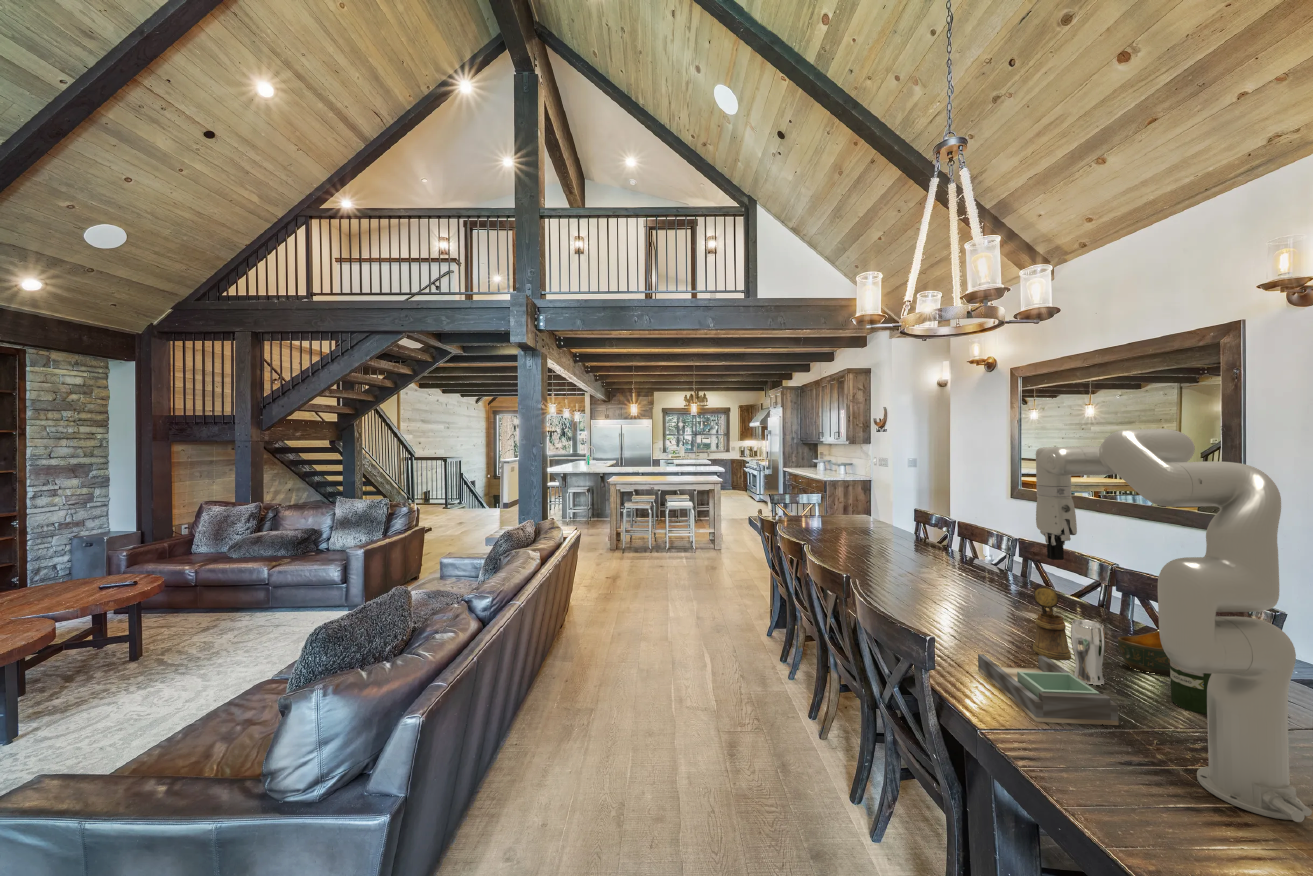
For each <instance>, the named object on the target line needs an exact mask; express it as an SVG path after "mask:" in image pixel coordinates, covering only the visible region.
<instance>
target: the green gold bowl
mask: <svg viewBox="0 0 1313 876" xmlns="http://www.w3.org/2000/svg"><path fill="white" fill-rule="evenodd" d="M1117 646H1118V651H1119V653H1120V656H1121V658H1122V659H1123V661H1124V662H1125V663H1126V664H1128V667H1129V668H1130V667H1131V668H1133V669H1136V670H1140V671H1143V672H1149V673H1155V674H1160V675H1159V676H1164V675H1170V659H1169V658H1168V656H1167V655H1166V653H1165V652H1164V650H1163V647H1162V644H1161V640H1160V634H1159V630H1158V631H1152V632H1147V633H1144V634H1139V635H1138V634H1137V635H1124V636H1118V637H1117ZM1131 668H1130V669H1131ZM1133 669H1132V670H1133Z"/></svg>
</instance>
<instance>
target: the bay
mask: <svg viewBox="0 0 1313 876" xmlns="http://www.w3.org/2000/svg"><path fill="white" fill-rule="evenodd" d="M1037 660H1038V662H1037V665H1038V668H1034V667H1033V668H1030V667H1028V668H1027V667H1001V666H999V665H998V664H996V663H995V662H994V661H993V660H991V659H990V658H989V657H988V656H986V654H984V653H978V654H977V667H978V669H977V670H978V672H980V673H981V674H982V675H983V676H984V677H985V678H986V677H987V678H986V679H988V680H989V681H990V682H991V683H992V684H993V685H994V684H995V685H994V686H995V687H996V688H998V690H1000V691H1001V692H1002V691H1003V692H1002V693H1003V694H1004V693H1005V694H1004V695H1006V697H1008V698H1009V697H1010V698H1011V699H1012V700H1011V699H1010V698H1009V699H1010V700H1011V701H1012V702H1013V701H1014V702H1013V703H1015V704H1016V705H1017V706H1018V707H1019V708H1020V709H1021V710H1022V711H1024V712H1025V713H1026V715H1028V716H1029V717H1031V719H1033V720H1034V721H1035V722H1036V723H1056V724H1057V723H1059V724H1076V725H1077V724H1082V725H1102V724H1103V726H1104V725H1105V726H1107V725H1108V726H1119V704H1117V703H1116V702H1114V701H1113V700H1111V697H1109V696H1108V695H1107V694H1102V693H1101V692H1099V691H1098V690H1096V689H1094V688H1093V687H1092V686H1090V685H1089V684H1087V685H1088V686H1090V687H1091V688H1093V689H1094V690H1096V691H1097V692H1099V693H1100V695H1098V694H1069V693H1041V692H1039V699H1038V698H1037V697H1036V696H1035V695H1033V694H1032V693H1031V692H1030V691H1028V690H1027V689H1026V688H1025V687H1023V686H1022V685H1021V684H1020V683H1019V682H1018V681H1017V671H1019V672H1052V673H1070V674H1072V673H1071V672H1069V671H1068V670H1066V669H1064V667H1061V666H1060V665H1058V664H1057V663H1055V662H1054V661H1053V660H1051V658H1047V657H1045V656H1041V655H1037ZM1072 675H1073V676H1074V674H1072ZM1076 678H1077V677H1076ZM1079 680H1080V679H1079ZM1082 682H1083V681H1082ZM1085 684H1086V683H1085Z"/></svg>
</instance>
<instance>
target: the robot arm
mask: <svg viewBox="0 0 1313 876" xmlns="http://www.w3.org/2000/svg"><path fill="white" fill-rule="evenodd" d="M1195 451H1196V450H1195V443H1194V442H1193V440H1192V439H1191V438H1190V437H1189V436H1188V435H1187V434H1185V433H1183V432H1181V431H1178V430H1175V429H1169V428H1168V429H1167V428H1142V429H1141V428H1140V429H1120V430H1116V431H1114V432H1112V433H1111V434H1110V433H1109V435H1108V436H1106V437H1105V439H1104V440H1103V442H1102V443H1100V445H1098V446H1097V445H1095V446H1094V445H1092V446H1091V445H1090V446H1089V445H1088V446H1087V445H1086V446H1046V447H1045V446H1043V447H1039V448H1037V449H1036V451H1035V473H1036V474H1035V479H1036V480H1035V481H1036V497H1037V499H1036V507H1035V510H1036V511H1035V523H1036V527H1037V529H1038V530H1039V534H1041V535H1042V536H1043V537H1044V539H1045V543H1046V556H1047V557H1046V558H1047V559H1049V560H1053V561H1055V560H1056V561H1057V560H1058V561H1059V560H1060V561H1063V560H1064V555H1065V554H1064V552H1065V551H1064V546H1065V544H1066V542H1068V541H1069V542H1070V541H1071V536H1076V535H1077V533H1078V529H1077V528H1078V527H1077V526H1078V525H1077V514H1076V508H1075V503H1074V499H1073V498H1072V477H1074V476H1075V477H1076V476H1107V475H1108V476H1110V475H1117V476H1118V477H1120V479H1122V481H1124V482H1125V483H1126V484H1128V485H1129V486H1130V487H1131V488H1132V489H1133V490H1134V491H1135V492H1136V493H1137V494H1138V495H1140V496H1141V497H1142V498H1144V499H1145V500H1146V501H1148V502H1150V503H1152V504H1154V505H1157V506H1160V507H1167V508H1168V507H1171V508H1179V507H1180V508H1181V507H1186V508H1187V507H1188V508H1190V507H1192V508H1193V507H1194V508H1195V507H1196V508H1197V507H1217V508H1219V510H1218V512H1217V513H1216V514H1215V515H1214V516H1213V518H1212V519H1211V520H1210V522H1209V523H1208V526H1207V528H1206V532H1205V543H1206V544H1205V545H1206V547H1205V555H1204V556H1202V557H1201V556H1200V557H1196V556H1194V557H1180V558H1174V559H1172V560H1170V561H1168V562H1166V564H1165V565H1163V567H1162V568H1161V570H1160V572H1159V575H1158V577H1157V606H1158V607H1157V609H1158V610H1157V611H1158V612H1157V613H1158V631H1159V634H1160V640H1161V644H1162V647H1163V650H1164V652H1165V653H1166V655H1167V656H1168V658H1169V659H1170V660H1171V661H1172V662H1173V663H1174V664H1175V665H1177V666H1178V667H1180V668H1182V669H1184V670H1187V671H1191V672H1196V673H1212V674H1211V676H1210V678H1209V681H1208V685H1207V714H1206V715H1207V716H1206V717H1207V718H1206V719H1207V750H1208V751H1207V752H1208V753H1207V755H1208V766H1203V767H1200V768H1198V770H1196V771H1197V772H1196V779H1197V781H1198V783H1199V784H1200V785H1201V787H1202V788H1204V789H1205V790H1206V791H1207V792H1209V793H1211V795H1214V796H1215V797H1216V798H1218V799H1221V800H1222V801H1224V802H1225V803H1228V804H1231V805H1233V806H1234V807H1236V808H1240V809H1242V810H1244V811H1247V812H1249V813H1250V812H1251V813H1254V814H1255V815H1260V816H1263V817H1268V818H1271V819H1280V820H1288V821H1294V822H1296V823H1302V822H1303V821H1304V820H1305V817H1310V816H1311V815H1312V814H1313V811H1312V809H1311V808H1310V807H1308V806H1307V805H1305V804H1304V803H1303V802H1302V801H1301V800H1300V798H1298V797H1297V789H1296V788H1295V787H1293V786H1292V785H1290V756H1289V755H1290V754H1289V752H1290V751H1289V747H1290V746H1289V690H1290V683H1291V680H1292V676H1293V673H1294V670H1295V665H1296V658H1297V657H1296V656H1297V654H1296V649H1295V646H1294V643H1293V642H1292V640H1291V638H1290V637H1289V636H1288V634H1286V632H1284V631H1283V630H1282V629H1281V628H1280V627H1278V626H1277V625H1274V624H1272V623H1270V622H1268V621H1266V620H1262V619H1260V618H1253V617H1247V616H1217V613H1253V612H1254V613H1255V612H1256V613H1257V612H1263V611H1264V612H1265V611H1268V610H1271V609H1273V608H1274V607H1275V606H1276V605H1277V604H1278V602H1279V598H1280V568H1279V566H1280V564H1279V562H1280V561H1279V546H1278V545H1279V544H1278V532H1279V525H1280V519H1281V514H1282V496H1281V493H1280V490H1279V488H1278V486H1277V484H1276V483H1275V481H1273V479H1272V477H1270V476H1269V475H1268V474H1267V473H1266V472H1264V471H1263V470H1260V469H1259V468H1257V467H1256V466H1255V467H1254V466H1251V465H1249V464H1245V463H1242V462H1241V463H1240V462H1232V461H1190V460H1191V459H1192V457H1194V454H1195Z"/></svg>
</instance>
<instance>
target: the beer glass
mask: <svg viewBox="0 0 1313 876" xmlns="http://www.w3.org/2000/svg"><path fill="white" fill-rule="evenodd" d="M1070 625H1071V626H1070V628H1071V629H1070V640H1071V647H1072V651H1073V656H1074V663H1075V669H1074V674H1073V675H1074V676H1075V677H1077V678H1078V679H1080V680H1081V681H1083V682H1084V683H1087V685H1089V684H1093V685H1092V686H1096V685H1100V686H1102V685H1101V684H1103V685H1104V684H1105V680H1104V679H1105V678H1104V676H1103V669H1102V668H1103V662H1104V658H1105V653H1106V652H1105V651H1106V634H1105V626H1104V624H1101V623H1100V622H1097V621H1094V620H1089V619H1081V618H1080V619H1079V618H1077V619H1072V620H1071V624H1070Z"/></svg>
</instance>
